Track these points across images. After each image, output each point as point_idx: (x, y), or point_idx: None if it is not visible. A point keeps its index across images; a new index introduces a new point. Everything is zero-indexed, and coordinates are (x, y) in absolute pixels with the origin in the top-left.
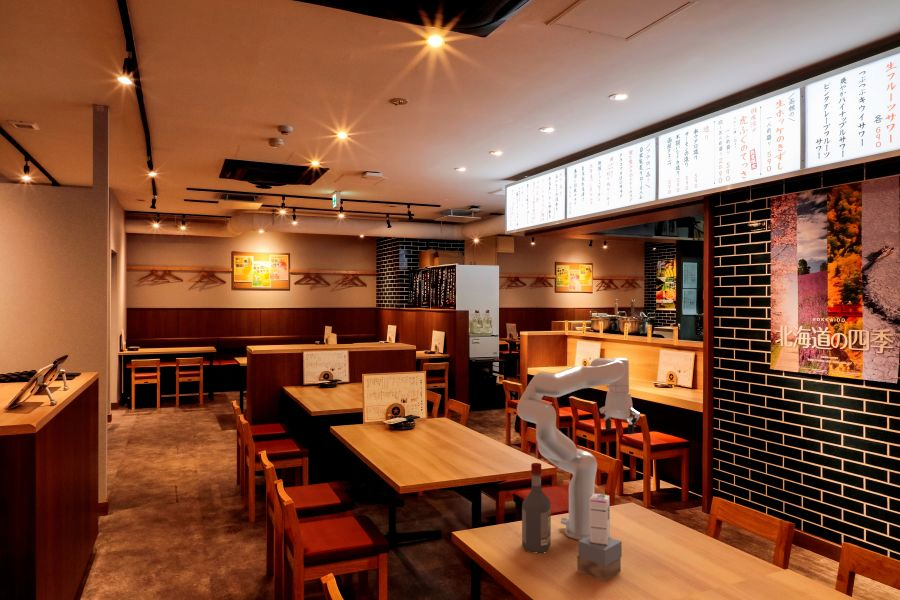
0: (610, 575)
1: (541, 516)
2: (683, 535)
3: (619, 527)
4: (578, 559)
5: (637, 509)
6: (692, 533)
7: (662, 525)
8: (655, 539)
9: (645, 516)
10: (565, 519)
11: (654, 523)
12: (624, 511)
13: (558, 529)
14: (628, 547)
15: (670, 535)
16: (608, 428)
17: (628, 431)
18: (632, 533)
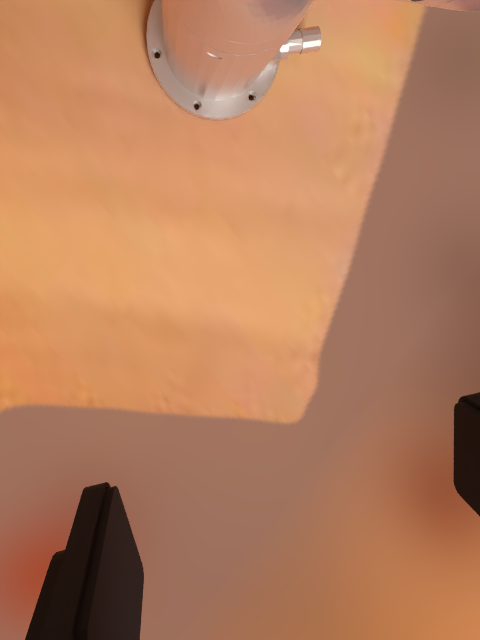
0: None
1: None
2: (10, 355)
3: (178, 230)
4: None
5: (251, 407)
6: (8, 392)
7: (110, 367)
8: (31, 247)
9: (195, 382)
10: (300, 30)
11: (136, 359)
12: (265, 360)
13: None
14: (23, 96)
15: (31, 320)
16: (473, 439)
17: (92, 512)
18: (114, 224)
